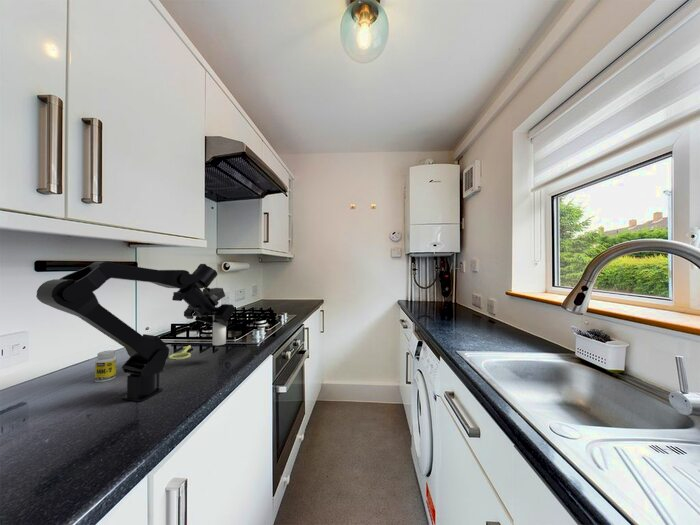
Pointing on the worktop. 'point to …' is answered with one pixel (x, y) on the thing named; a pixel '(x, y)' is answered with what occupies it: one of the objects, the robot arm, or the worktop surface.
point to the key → (183, 353)
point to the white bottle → (219, 334)
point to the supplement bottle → (105, 366)
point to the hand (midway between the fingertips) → (222, 324)
